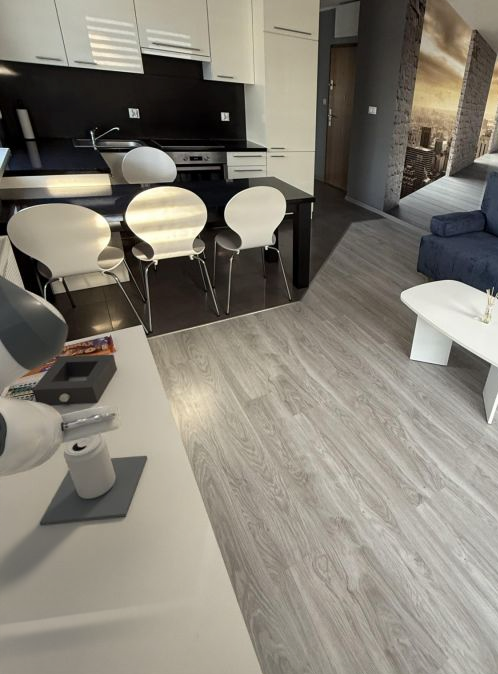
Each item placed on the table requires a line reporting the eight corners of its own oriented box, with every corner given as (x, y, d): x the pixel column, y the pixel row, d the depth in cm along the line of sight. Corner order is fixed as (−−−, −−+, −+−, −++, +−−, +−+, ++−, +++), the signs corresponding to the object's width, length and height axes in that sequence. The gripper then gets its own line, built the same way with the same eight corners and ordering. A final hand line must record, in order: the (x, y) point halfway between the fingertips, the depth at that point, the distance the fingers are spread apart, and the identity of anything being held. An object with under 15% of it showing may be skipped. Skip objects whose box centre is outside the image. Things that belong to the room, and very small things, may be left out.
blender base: (35, 408, 94) (29, 392, 92) (64, 371, 106) (59, 356, 104) (95, 405, 96) (91, 389, 94) (117, 369, 109) (113, 354, 106)
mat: (40, 525, 71) (39, 522, 70) (74, 463, 82) (73, 461, 82) (125, 516, 73) (125, 513, 73) (147, 458, 84) (146, 455, 84)
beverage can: (69, 496, 75) (52, 451, 69) (97, 468, 80) (83, 425, 75) (98, 505, 74) (82, 460, 68) (124, 476, 79) (112, 433, 74)
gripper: (110, 391, 56) (124, 398, 68) (-89, 435, 47) (-32, 434, 59) (116, 437, 55) (129, 435, 67) (-89, 490, 46) (-31, 478, 58)
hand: (52, 435), depth 63 cm, fingers open, 8 cm apart
